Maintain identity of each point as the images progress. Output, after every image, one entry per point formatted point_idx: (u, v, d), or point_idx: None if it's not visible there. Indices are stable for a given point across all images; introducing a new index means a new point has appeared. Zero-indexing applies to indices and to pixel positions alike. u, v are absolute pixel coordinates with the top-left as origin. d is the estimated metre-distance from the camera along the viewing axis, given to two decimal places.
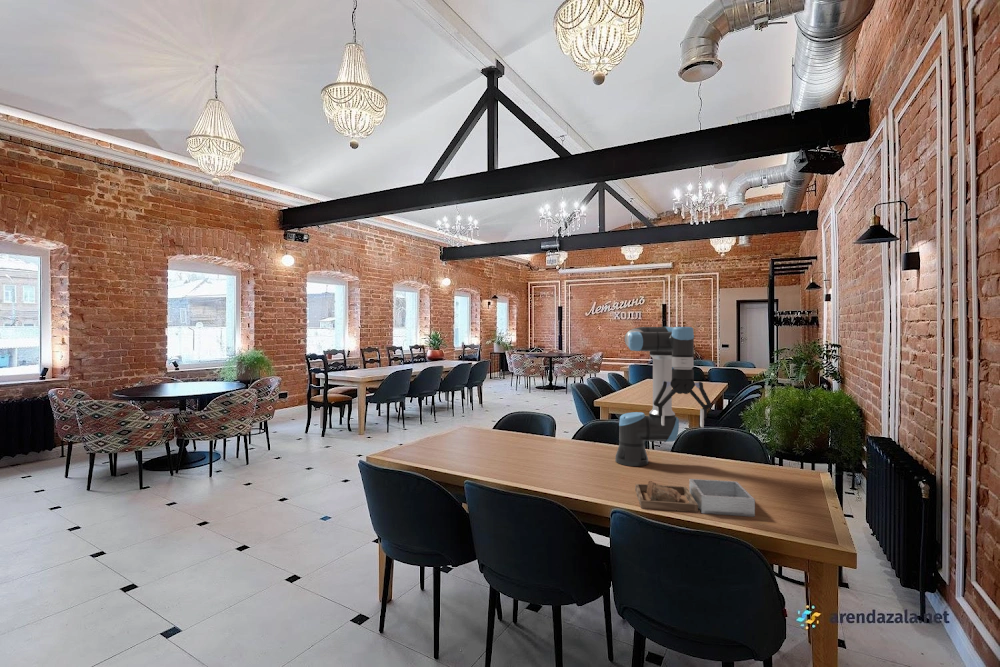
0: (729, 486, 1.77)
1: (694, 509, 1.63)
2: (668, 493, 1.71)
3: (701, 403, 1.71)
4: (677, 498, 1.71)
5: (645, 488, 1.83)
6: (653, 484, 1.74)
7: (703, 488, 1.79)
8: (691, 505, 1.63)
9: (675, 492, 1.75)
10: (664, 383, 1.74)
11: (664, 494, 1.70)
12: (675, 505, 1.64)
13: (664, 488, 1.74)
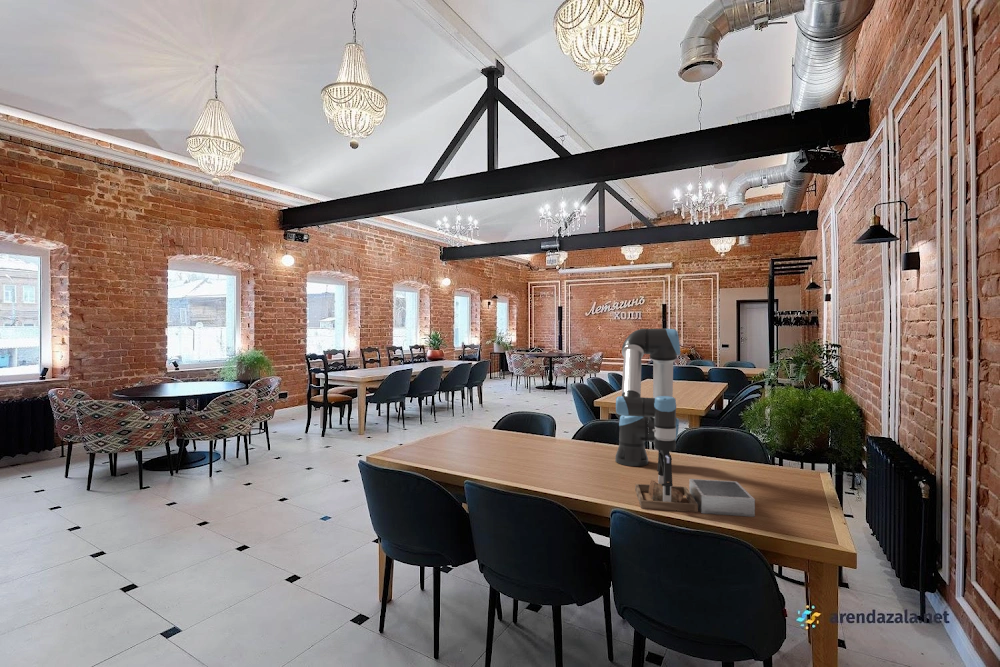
0: (729, 486, 1.77)
1: (694, 509, 1.63)
2: None
3: (663, 478, 1.69)
4: (679, 498, 1.71)
5: (645, 488, 1.83)
6: (655, 484, 1.74)
7: (703, 488, 1.79)
8: (691, 505, 1.63)
9: (677, 492, 1.74)
10: (658, 450, 1.80)
11: None
12: (675, 505, 1.64)
13: None
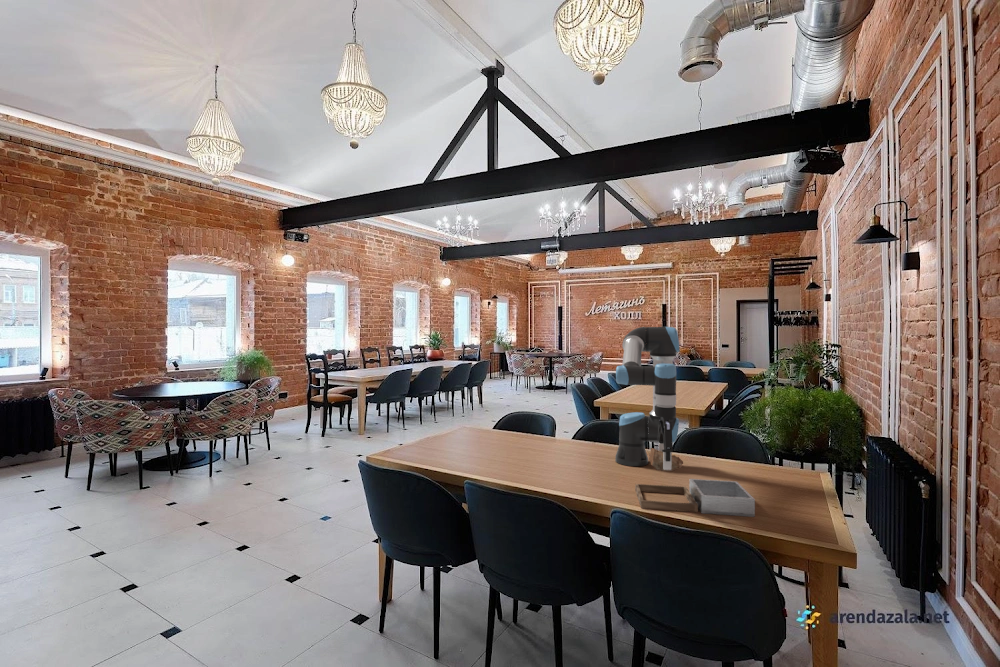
0: (729, 486, 1.77)
1: (694, 509, 1.63)
2: None
3: (663, 444, 1.69)
4: (679, 464, 1.71)
5: (645, 488, 1.83)
6: (655, 451, 1.74)
7: (703, 488, 1.79)
8: (691, 505, 1.63)
9: (677, 459, 1.75)
10: (658, 418, 1.80)
11: None
12: (675, 505, 1.64)
13: None
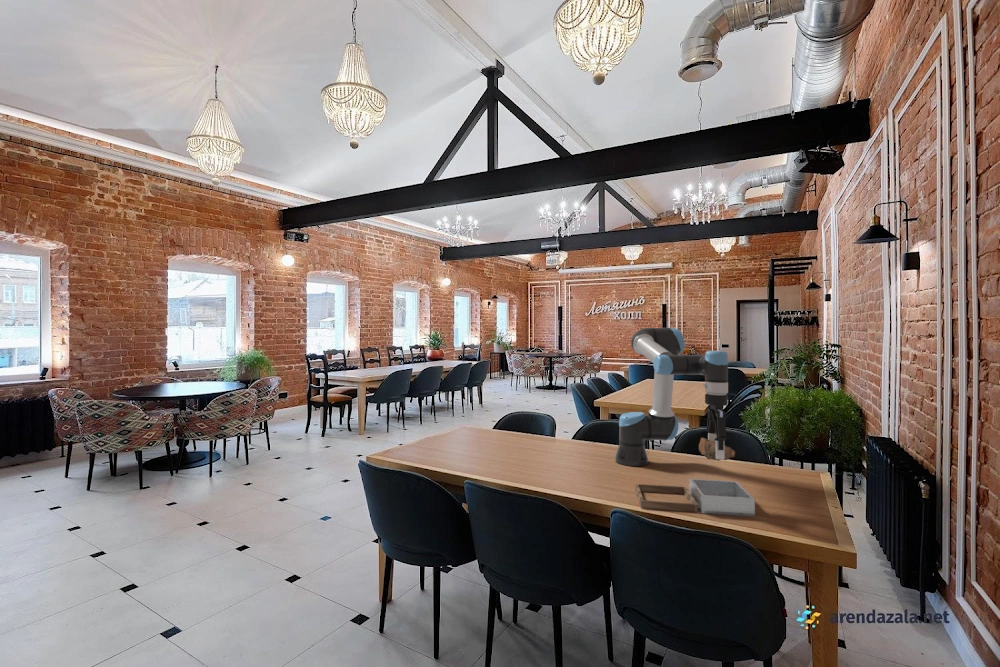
0: (729, 486, 1.77)
1: (694, 509, 1.63)
2: None
3: (716, 433, 1.65)
4: (732, 454, 1.66)
5: (645, 488, 1.83)
6: (706, 440, 1.70)
7: (703, 488, 1.79)
8: (691, 505, 1.63)
9: (729, 449, 1.70)
10: (708, 407, 1.76)
11: None
12: (675, 505, 1.64)
13: None
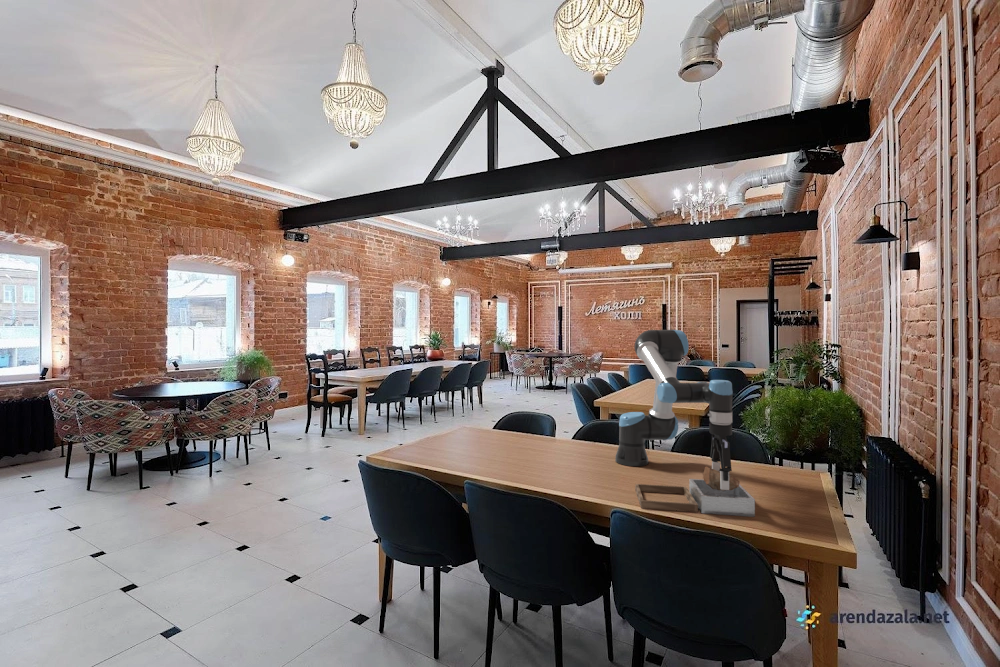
0: None
1: (694, 509, 1.63)
2: None
3: (721, 463, 1.64)
4: (736, 484, 1.66)
5: (645, 488, 1.83)
6: (710, 470, 1.70)
7: (703, 488, 1.79)
8: (691, 505, 1.63)
9: (733, 478, 1.70)
10: (712, 436, 1.76)
11: None
12: (675, 505, 1.64)
13: None
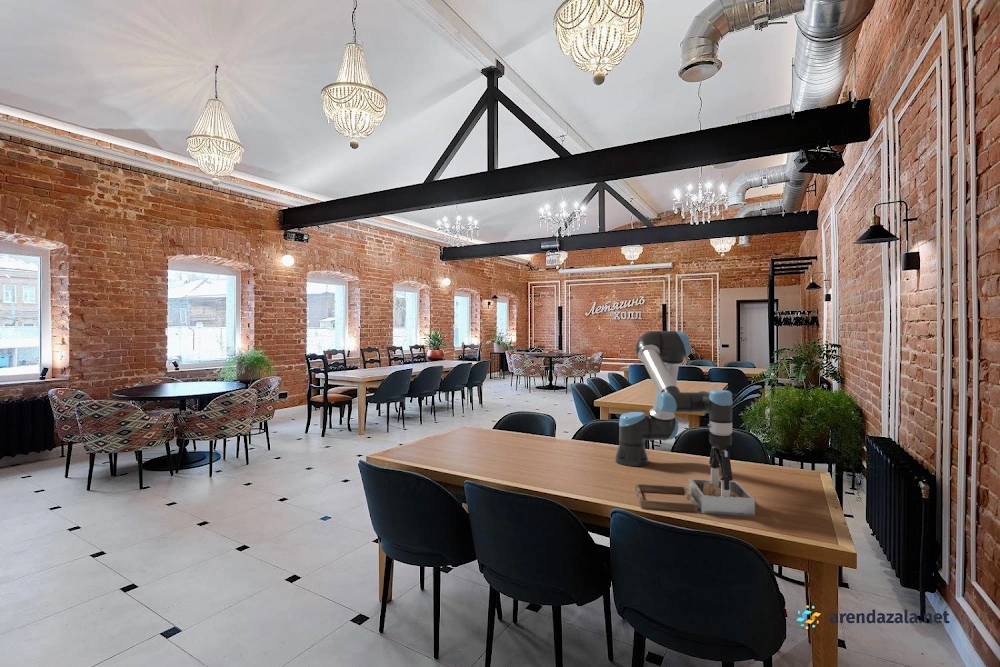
0: None
1: (694, 509, 1.63)
2: None
3: (721, 472, 1.64)
4: None
5: (645, 488, 1.83)
6: (710, 485, 1.70)
7: None
8: (691, 505, 1.63)
9: (733, 494, 1.70)
10: None
11: None
12: (675, 505, 1.64)
13: None
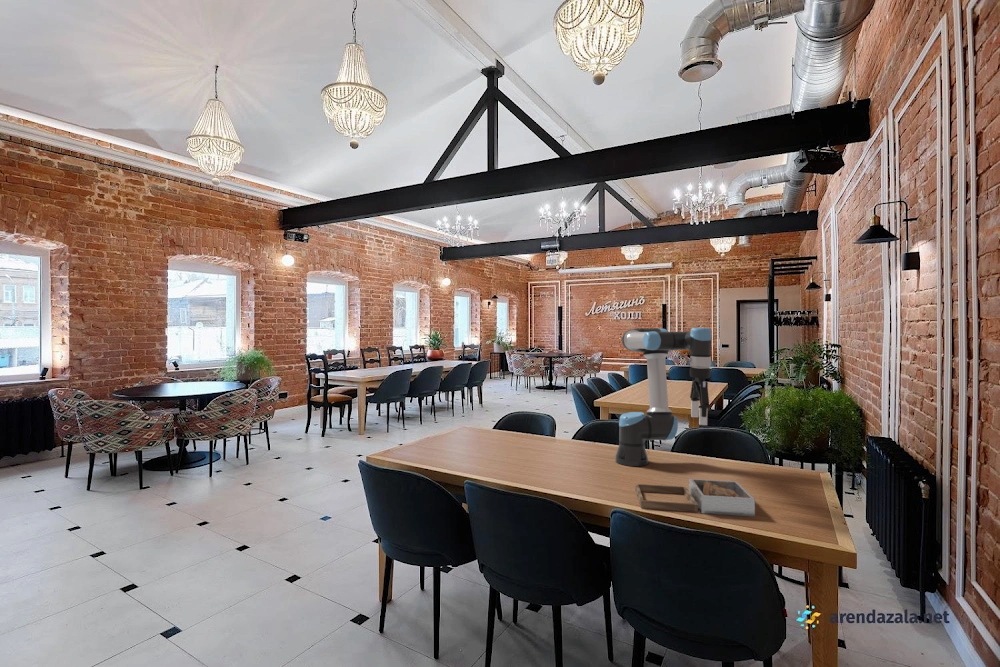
0: (729, 486, 1.77)
1: (694, 509, 1.63)
2: (726, 494, 1.66)
3: (700, 401, 1.78)
4: None
5: (645, 488, 1.83)
6: (710, 485, 1.70)
7: None
8: (691, 505, 1.63)
9: (733, 493, 1.70)
10: (692, 379, 1.90)
11: (722, 495, 1.66)
12: (675, 505, 1.64)
13: (722, 489, 1.69)
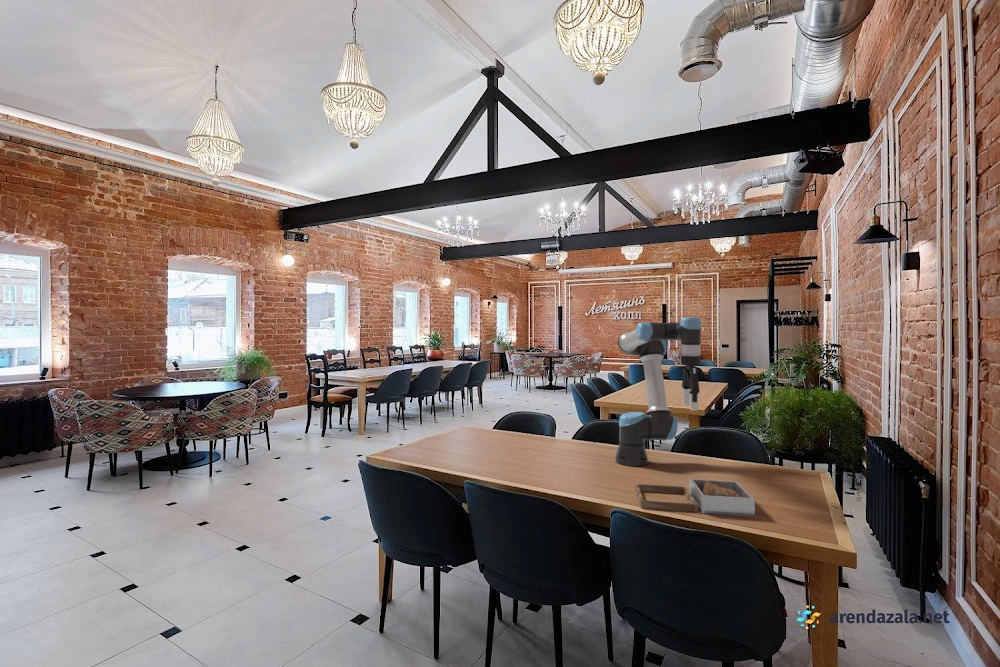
0: (729, 486, 1.77)
1: (694, 509, 1.63)
2: (726, 494, 1.67)
3: (690, 387, 1.85)
4: None
5: (645, 488, 1.83)
6: (710, 484, 1.71)
7: None
8: (691, 505, 1.63)
9: (733, 493, 1.71)
10: None
11: (722, 495, 1.66)
12: (675, 505, 1.64)
13: (722, 488, 1.70)
